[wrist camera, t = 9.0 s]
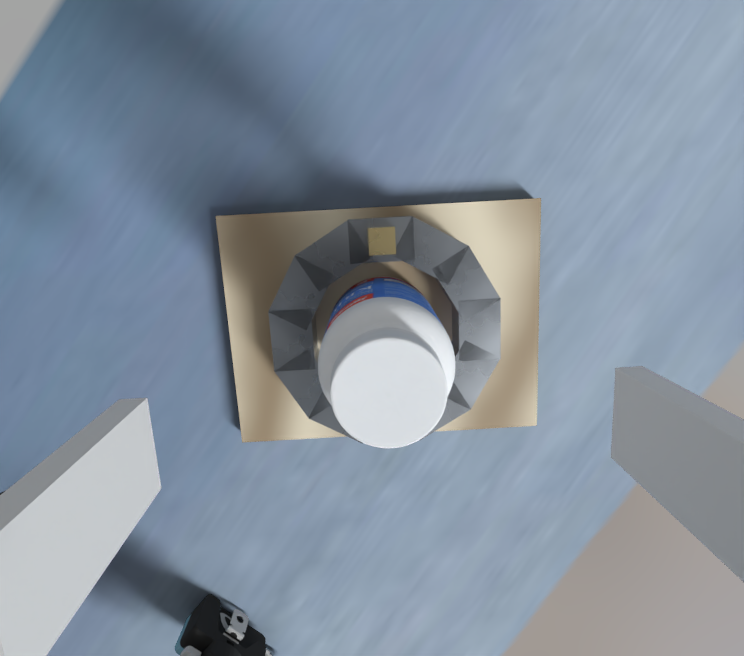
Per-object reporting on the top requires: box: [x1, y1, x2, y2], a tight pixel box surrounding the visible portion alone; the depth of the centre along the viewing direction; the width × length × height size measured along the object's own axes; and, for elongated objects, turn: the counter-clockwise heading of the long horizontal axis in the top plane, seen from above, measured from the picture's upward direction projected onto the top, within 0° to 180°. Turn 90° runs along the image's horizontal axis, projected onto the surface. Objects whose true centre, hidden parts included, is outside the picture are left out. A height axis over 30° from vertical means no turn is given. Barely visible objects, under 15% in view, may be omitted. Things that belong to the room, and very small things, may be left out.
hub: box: [268, 216, 501, 443], centre depth 25 cm, size 11×11×3 cm
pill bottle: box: [318, 276, 455, 448], centre depth 22 cm, size 6×5×10 cm
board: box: [216, 198, 541, 442], centre depth 27 cm, size 16×12×1 cm
